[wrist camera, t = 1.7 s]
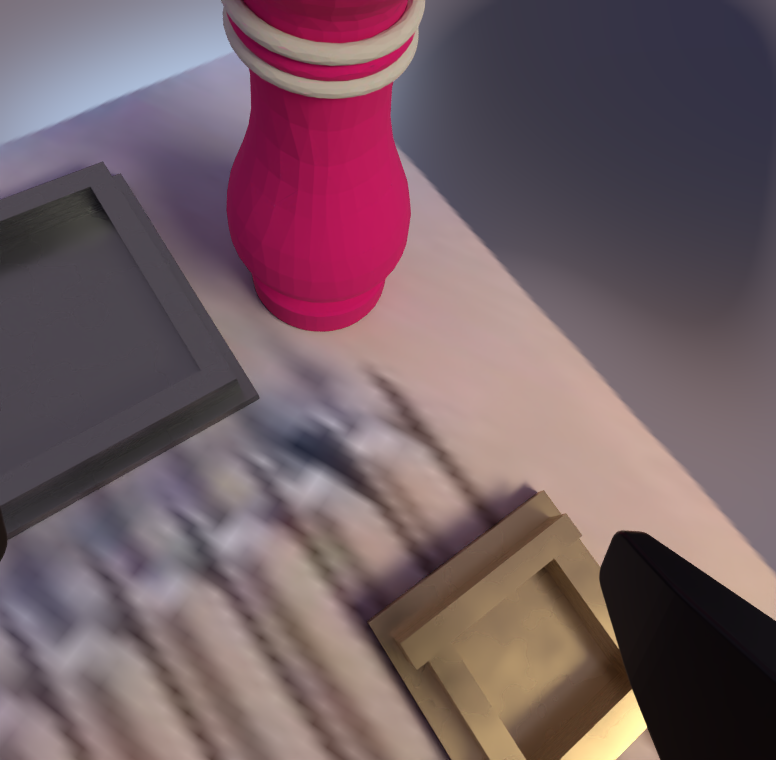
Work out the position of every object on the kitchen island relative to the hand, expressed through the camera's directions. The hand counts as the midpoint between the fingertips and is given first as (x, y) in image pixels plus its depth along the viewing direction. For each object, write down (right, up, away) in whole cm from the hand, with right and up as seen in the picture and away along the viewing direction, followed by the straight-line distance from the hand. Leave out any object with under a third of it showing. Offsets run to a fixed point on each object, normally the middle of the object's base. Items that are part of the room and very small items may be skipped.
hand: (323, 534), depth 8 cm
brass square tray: (+6, -8, +13) cm, 17 cm away
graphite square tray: (-14, +4, +14) cm, 20 cm away
